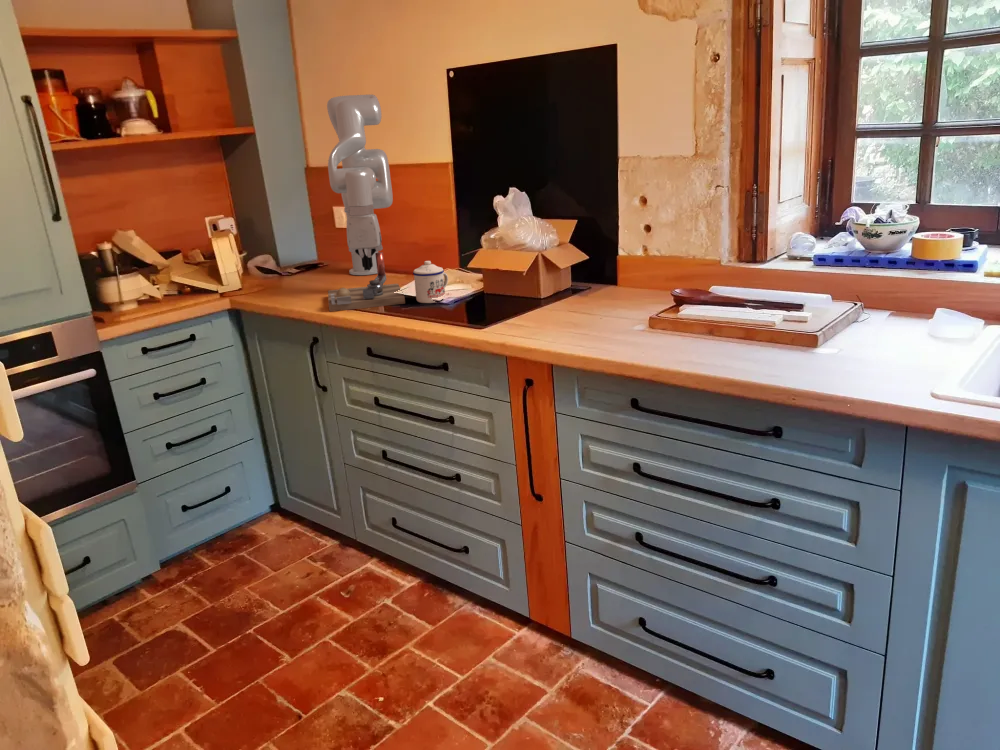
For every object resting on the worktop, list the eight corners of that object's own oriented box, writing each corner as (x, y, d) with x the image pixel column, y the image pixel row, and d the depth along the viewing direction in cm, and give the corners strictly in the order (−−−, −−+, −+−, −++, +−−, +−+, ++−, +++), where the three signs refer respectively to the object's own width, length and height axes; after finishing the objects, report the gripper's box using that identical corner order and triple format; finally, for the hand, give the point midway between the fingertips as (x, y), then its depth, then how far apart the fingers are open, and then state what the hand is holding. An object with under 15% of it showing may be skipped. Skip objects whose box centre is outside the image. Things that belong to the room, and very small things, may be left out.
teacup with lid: (430, 304, 220) (426, 265, 216) (409, 301, 226) (405, 262, 222) (459, 296, 228) (456, 258, 224) (438, 293, 234) (435, 255, 230)
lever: (375, 282, 243) (371, 252, 240) (389, 281, 243) (386, 251, 240) (363, 298, 221) (359, 266, 218) (379, 297, 221) (376, 265, 218)
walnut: (337, 300, 223) (335, 287, 222) (350, 299, 224) (349, 285, 223) (337, 303, 219) (335, 290, 218) (351, 302, 220) (349, 288, 219)
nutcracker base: (328, 296, 238) (326, 277, 236) (398, 289, 242) (396, 270, 240) (329, 312, 218) (326, 291, 216) (405, 304, 222) (403, 283, 220)
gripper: (334, 214, 231) (342, 272, 238) (382, 211, 230) (388, 271, 236) (341, 210, 238) (348, 267, 245) (387, 208, 237) (393, 266, 243)
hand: (368, 269), depth 241 cm, fingers closed
